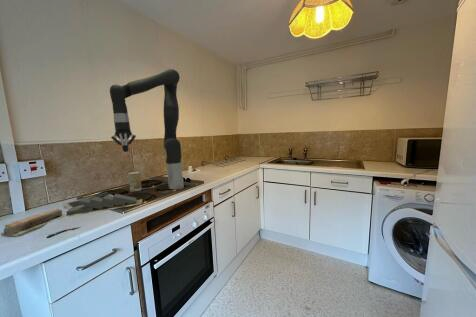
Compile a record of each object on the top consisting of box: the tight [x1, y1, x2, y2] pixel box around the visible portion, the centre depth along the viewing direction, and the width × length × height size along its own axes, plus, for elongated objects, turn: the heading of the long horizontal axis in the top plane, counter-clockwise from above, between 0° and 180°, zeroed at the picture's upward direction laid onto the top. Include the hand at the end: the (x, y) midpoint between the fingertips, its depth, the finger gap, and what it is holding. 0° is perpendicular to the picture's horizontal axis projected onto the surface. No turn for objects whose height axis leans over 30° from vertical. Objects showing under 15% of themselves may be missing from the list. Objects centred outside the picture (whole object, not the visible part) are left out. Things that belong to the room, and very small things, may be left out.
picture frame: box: [62, 191, 114, 210], centre depth 107 cm, size 16×3×21 cm
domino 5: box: [113, 193, 137, 204], centre depth 99 cm, size 2×5×10 cm
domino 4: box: [102, 195, 126, 206], centre depth 97 cm, size 2×5×10 cm
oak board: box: [68, 198, 143, 217], centre depth 96 cm, size 30×8×1 cm, turn 112°
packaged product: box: [0, 208, 67, 238], centre depth 82 cm, size 18×5×10 cm
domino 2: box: [78, 197, 104, 209], centre depth 93 cm, size 2×5×10 cm
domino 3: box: [90, 197, 115, 208], centre depth 95 cm, size 2×5×10 cm
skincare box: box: [127, 171, 143, 193], centre depth 126 cm, size 6×4×12 cm
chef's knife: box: [46, 226, 81, 239], centre depth 78 cm, size 19×1×3 cm
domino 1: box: [66, 206, 95, 217], centre depth 92 cm, size 2×5×10 cm
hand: (126, 151), depth 112 cm, fingers closed
